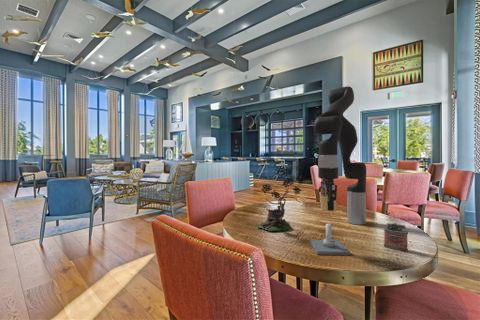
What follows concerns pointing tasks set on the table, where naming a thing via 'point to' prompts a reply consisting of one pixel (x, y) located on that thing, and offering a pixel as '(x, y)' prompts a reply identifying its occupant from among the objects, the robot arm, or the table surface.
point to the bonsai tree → (276, 216)
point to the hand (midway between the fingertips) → (328, 208)
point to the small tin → (395, 237)
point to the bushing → (324, 203)
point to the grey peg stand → (329, 245)
